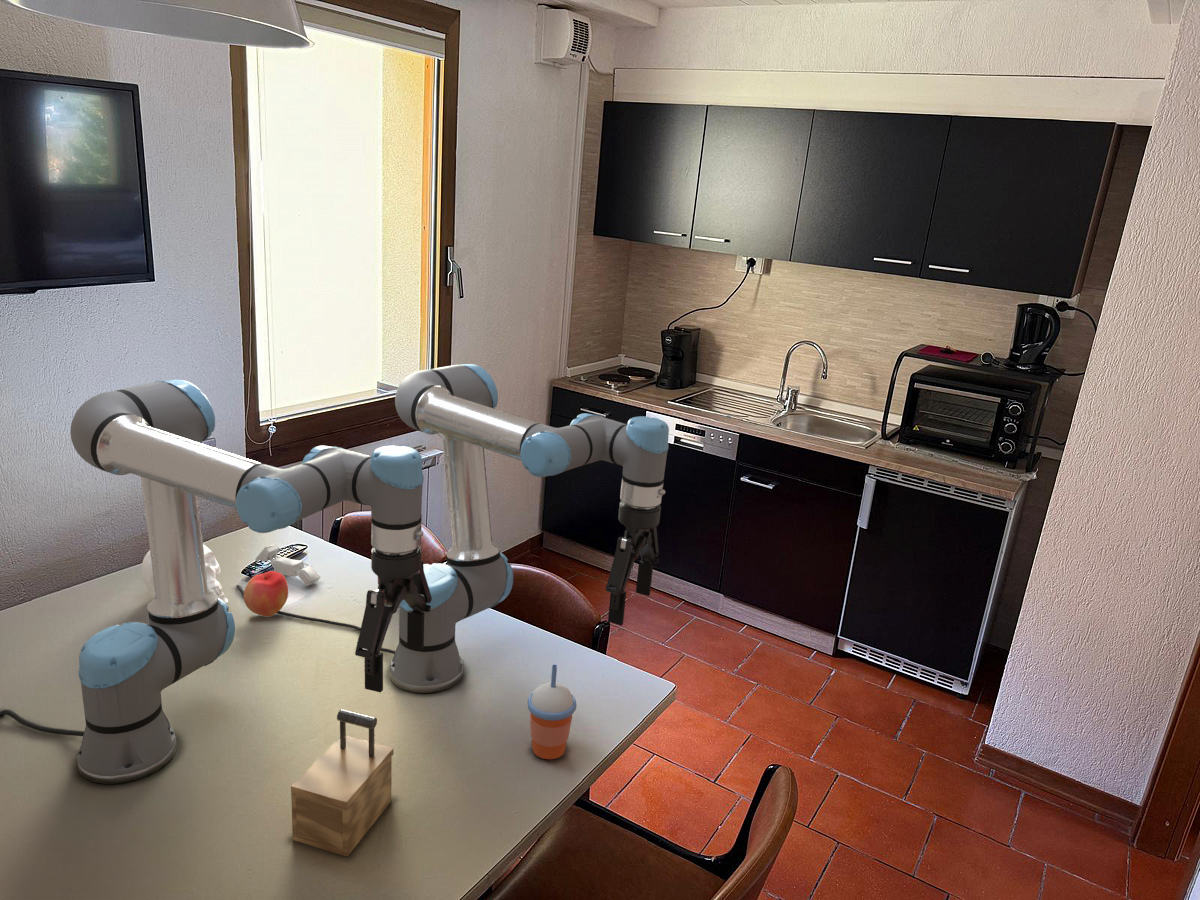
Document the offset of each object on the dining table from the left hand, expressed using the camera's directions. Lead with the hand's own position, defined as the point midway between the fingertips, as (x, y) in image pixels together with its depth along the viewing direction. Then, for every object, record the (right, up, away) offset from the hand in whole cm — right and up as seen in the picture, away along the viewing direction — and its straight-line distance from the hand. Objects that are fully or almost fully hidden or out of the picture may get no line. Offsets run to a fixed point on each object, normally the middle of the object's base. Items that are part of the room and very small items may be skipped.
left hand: (395, 667), depth 138 cm
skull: (-65, -1, +66) cm, 93 cm away
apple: (-45, -4, +63) cm, 78 cm away
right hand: (+39, +5, +23) cm, 45 cm away
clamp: (-48, +3, +83) cm, 95 cm away
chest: (-9, -26, +2) cm, 27 cm away
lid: (-8, -17, 0) cm, 19 cm away
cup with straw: (+23, -22, +23) cm, 39 cm away
